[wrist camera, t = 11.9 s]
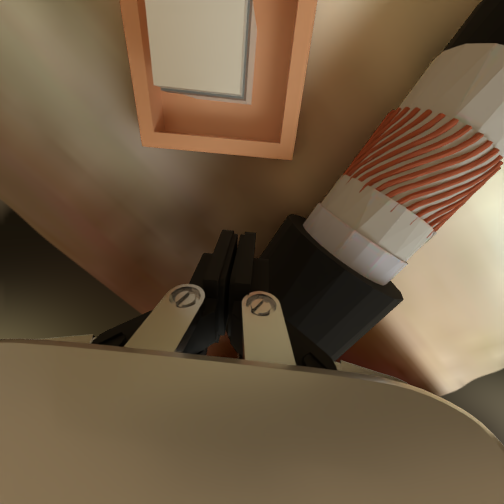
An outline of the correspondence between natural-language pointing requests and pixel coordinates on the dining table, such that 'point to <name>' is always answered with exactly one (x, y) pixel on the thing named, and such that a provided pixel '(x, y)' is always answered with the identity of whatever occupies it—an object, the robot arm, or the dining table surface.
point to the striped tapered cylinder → (395, 192)
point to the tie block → (203, 48)
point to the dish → (224, 113)
